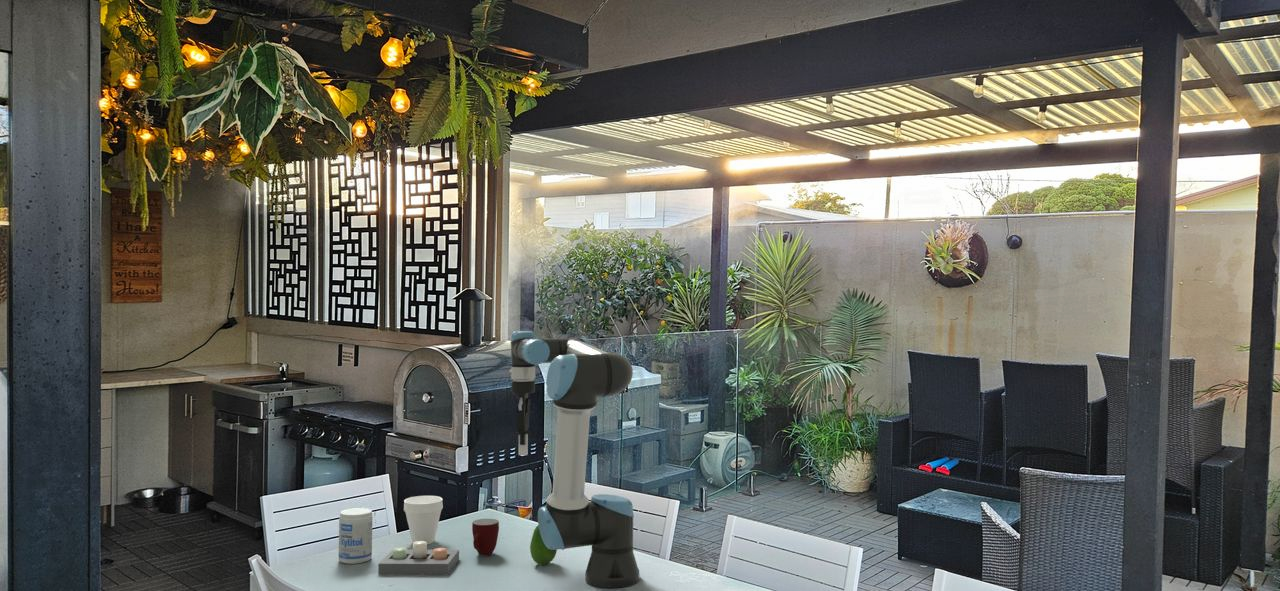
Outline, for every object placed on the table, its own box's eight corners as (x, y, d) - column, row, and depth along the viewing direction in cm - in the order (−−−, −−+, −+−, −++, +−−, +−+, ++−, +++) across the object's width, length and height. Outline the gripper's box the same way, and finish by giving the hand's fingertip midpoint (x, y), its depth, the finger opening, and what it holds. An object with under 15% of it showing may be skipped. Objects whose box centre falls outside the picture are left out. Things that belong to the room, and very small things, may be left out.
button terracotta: (448, 561, 257) (448, 547, 257) (445, 565, 253) (445, 551, 253) (435, 561, 257) (435, 547, 257) (431, 565, 253) (431, 551, 253)
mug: (490, 561, 260) (490, 527, 260) (464, 559, 262) (464, 526, 262) (502, 551, 271) (502, 519, 271) (478, 549, 272) (478, 517, 272)
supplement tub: (338, 566, 256) (338, 516, 256) (339, 557, 265) (339, 508, 265) (372, 563, 259) (372, 513, 259) (372, 554, 268) (372, 506, 268)
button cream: (428, 554, 257) (428, 541, 257) (424, 558, 253) (424, 544, 253) (415, 554, 257) (414, 540, 257) (411, 558, 253) (411, 544, 253)
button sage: (408, 561, 257) (408, 547, 257) (404, 565, 253) (404, 551, 253) (395, 560, 257) (394, 547, 257) (390, 565, 253) (390, 551, 253)
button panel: (459, 559, 262) (459, 549, 262) (447, 574, 248) (447, 563, 248) (393, 559, 262) (393, 549, 262) (378, 574, 248) (378, 563, 248)
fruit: (562, 563, 258) (562, 523, 258) (545, 570, 252) (545, 528, 252) (542, 558, 263) (542, 519, 263) (524, 565, 256) (524, 524, 256)
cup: (396, 545, 277) (396, 502, 278) (416, 535, 289) (416, 494, 289) (430, 548, 274) (430, 505, 274) (449, 538, 286) (449, 496, 286)
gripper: (514, 378, 281) (514, 451, 281) (507, 382, 268) (507, 458, 268) (537, 378, 281) (537, 451, 281) (531, 382, 268) (531, 458, 268)
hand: (523, 454), depth 275 cm, fingers closed
